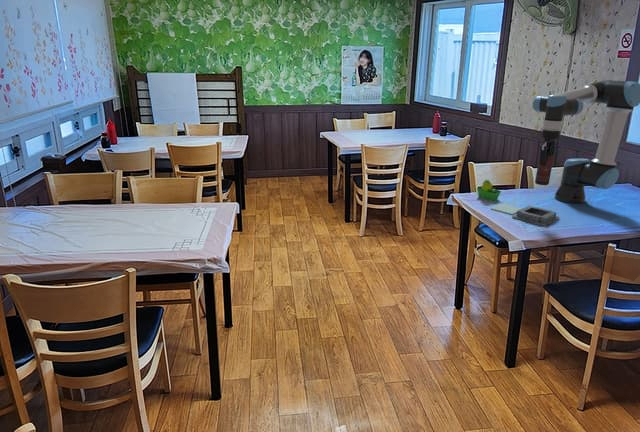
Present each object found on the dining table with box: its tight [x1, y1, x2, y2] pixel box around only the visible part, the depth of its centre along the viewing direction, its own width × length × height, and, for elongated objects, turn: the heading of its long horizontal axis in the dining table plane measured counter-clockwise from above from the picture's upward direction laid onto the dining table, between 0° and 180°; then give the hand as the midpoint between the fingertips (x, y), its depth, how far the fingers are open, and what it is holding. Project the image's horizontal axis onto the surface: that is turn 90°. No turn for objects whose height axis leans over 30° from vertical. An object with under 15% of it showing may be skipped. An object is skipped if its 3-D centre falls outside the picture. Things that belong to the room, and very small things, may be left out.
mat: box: [490, 203, 522, 216], centre depth 237 cm, size 12×12×1 cm
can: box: [534, 155, 555, 186], centre depth 216 cm, size 6×6×14 cm
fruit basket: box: [476, 179, 502, 202], centre depth 254 cm, size 11×9×11 cm
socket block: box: [511, 205, 560, 227], centre depth 224 cm, size 16×16×4 cm
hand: (542, 178), depth 218 cm, fingers closed
